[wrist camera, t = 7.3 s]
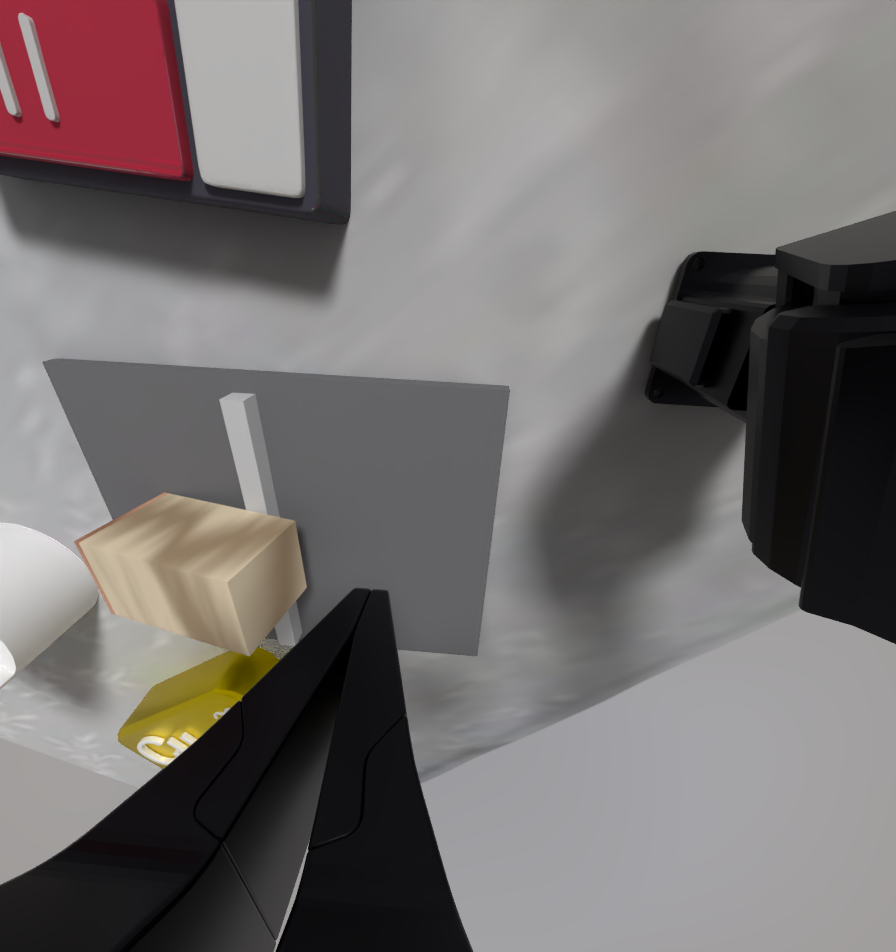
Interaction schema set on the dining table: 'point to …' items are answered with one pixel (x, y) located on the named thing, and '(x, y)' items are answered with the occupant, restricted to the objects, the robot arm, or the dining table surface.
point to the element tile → (191, 704)
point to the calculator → (182, 100)
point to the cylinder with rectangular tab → (37, 595)
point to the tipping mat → (315, 476)
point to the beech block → (198, 569)
